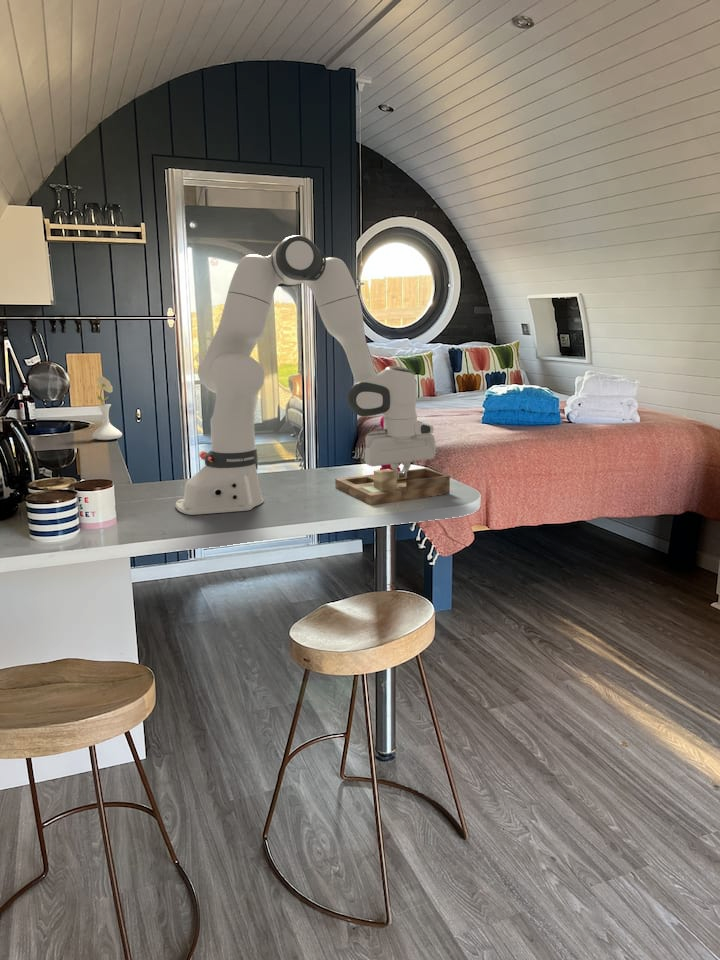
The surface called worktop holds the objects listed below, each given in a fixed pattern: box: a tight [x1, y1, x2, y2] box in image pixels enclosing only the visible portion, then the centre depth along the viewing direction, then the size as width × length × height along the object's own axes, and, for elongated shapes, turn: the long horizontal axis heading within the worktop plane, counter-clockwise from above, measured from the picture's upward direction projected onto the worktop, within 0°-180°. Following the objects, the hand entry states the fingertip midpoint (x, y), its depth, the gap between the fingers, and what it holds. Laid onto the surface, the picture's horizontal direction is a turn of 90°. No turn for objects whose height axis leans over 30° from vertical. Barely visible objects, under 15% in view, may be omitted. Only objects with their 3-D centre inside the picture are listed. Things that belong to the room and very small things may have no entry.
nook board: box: [334, 467, 451, 506], centre depth 206 cm, size 24×22×5 cm
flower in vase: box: [91, 375, 123, 441], centre depth 294 cm, size 13×11×25 cm
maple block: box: [373, 469, 397, 490], centre depth 199 cm, size 4×4×4 cm
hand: (400, 478), depth 202 cm, fingers closed
